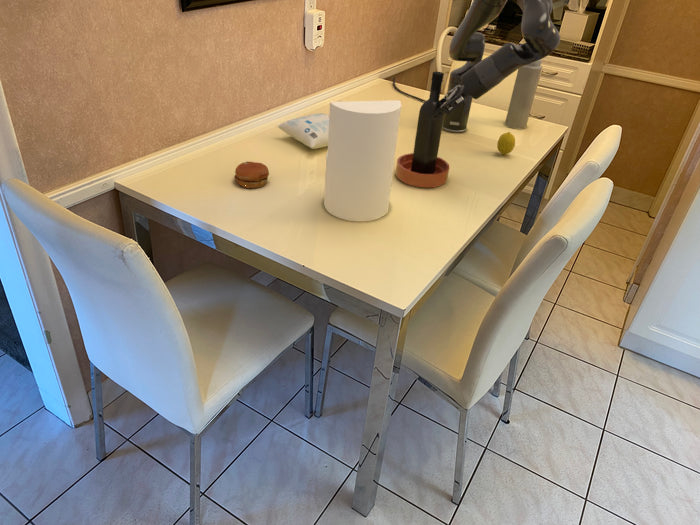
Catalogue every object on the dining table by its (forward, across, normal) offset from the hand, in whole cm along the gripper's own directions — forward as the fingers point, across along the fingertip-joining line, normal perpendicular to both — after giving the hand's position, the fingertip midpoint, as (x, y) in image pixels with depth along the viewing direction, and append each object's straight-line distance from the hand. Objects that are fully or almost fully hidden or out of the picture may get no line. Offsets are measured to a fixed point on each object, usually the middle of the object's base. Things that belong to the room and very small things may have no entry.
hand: (433, 113), depth 146 cm
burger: (+46, +21, -18) cm, 54 cm away
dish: (+14, 0, +14) cm, 20 cm away
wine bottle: (+14, 0, +13) cm, 19 cm away
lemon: (-2, -28, +31) cm, 42 cm away
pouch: (+40, -14, -12) cm, 45 cm away
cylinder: (+24, +24, +4) cm, 34 cm away
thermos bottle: (-6, -61, +34) cm, 70 cm away
